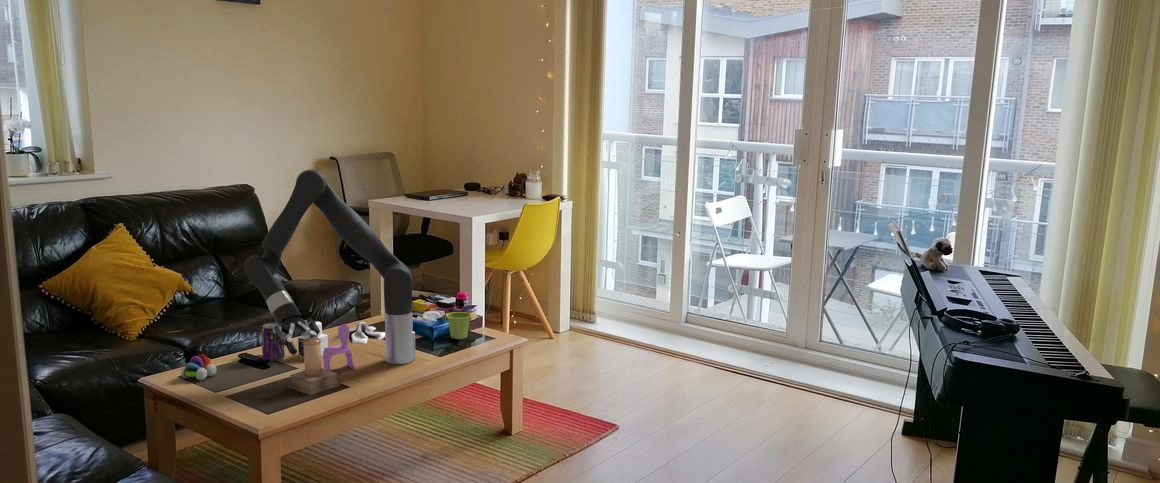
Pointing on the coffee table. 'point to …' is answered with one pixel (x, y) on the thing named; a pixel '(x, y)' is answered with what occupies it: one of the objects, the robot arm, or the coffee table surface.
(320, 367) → the canister
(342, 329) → the toy chair
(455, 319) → the plant pot
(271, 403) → the coffee table surface
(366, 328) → the cloth
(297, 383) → the base slab
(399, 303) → the robot arm
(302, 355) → the medicine bottle
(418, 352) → the coffee table surface
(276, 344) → the beverage can
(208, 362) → the colorful domed toy
